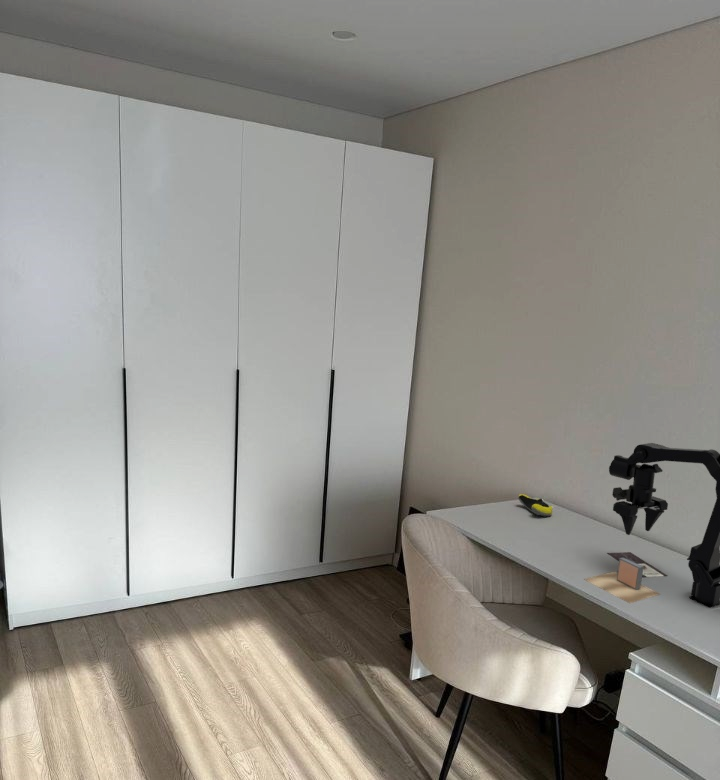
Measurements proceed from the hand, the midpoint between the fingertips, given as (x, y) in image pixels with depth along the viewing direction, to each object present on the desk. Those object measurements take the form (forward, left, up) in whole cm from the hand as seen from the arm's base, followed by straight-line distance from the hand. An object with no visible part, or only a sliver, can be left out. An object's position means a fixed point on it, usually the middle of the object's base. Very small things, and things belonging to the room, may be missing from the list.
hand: (637, 532), depth 201 cm
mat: (-6, +13, -13) cm, 20 cm away
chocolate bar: (+3, -6, -14) cm, 15 cm away
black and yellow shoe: (+52, -12, -13) cm, 55 cm away
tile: (-6, +10, -12) cm, 17 cm away
